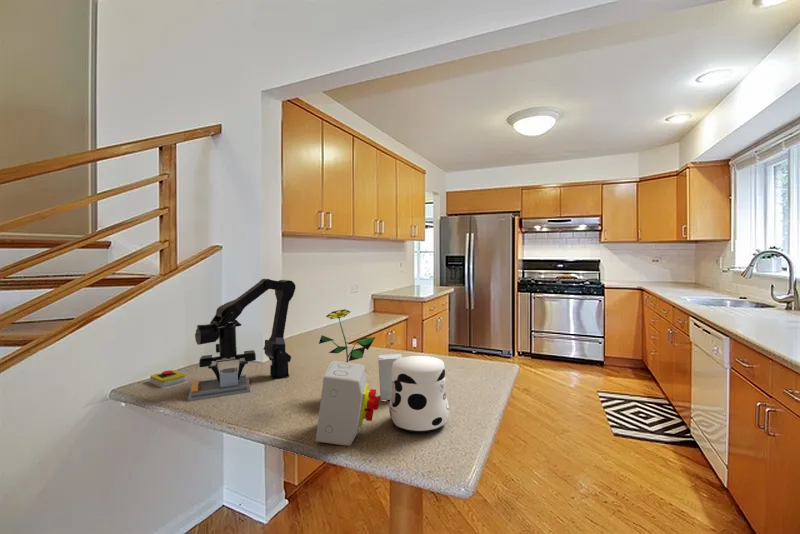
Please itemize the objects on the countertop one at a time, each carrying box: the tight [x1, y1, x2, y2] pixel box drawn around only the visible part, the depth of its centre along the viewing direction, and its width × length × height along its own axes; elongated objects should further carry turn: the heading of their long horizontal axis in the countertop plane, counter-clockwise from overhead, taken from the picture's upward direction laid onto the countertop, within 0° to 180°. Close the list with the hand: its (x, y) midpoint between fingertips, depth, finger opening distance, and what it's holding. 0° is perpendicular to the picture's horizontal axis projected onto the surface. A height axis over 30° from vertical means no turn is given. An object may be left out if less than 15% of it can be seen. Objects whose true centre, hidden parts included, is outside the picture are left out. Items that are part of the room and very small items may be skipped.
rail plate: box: [187, 373, 251, 402], centre depth 141 cm, size 20×13×4 cm, turn 114°
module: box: [219, 366, 239, 388], centre depth 141 cm, size 6×6×5 cm
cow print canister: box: [388, 355, 450, 433], centre depth 111 cm, size 17×17×18 cm
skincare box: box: [377, 353, 403, 401], centre depth 130 cm, size 8×6×15 cm
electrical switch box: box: [315, 360, 381, 446], centre depth 106 cm, size 15×15×20 cm
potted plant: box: [318, 309, 376, 371], centre depth 129 cm, size 18×19×30 cm
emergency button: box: [148, 369, 190, 390], centre depth 151 cm, size 9×4×15 cm
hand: (229, 381), depth 141 cm, fingers closed on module, 6 cm apart
